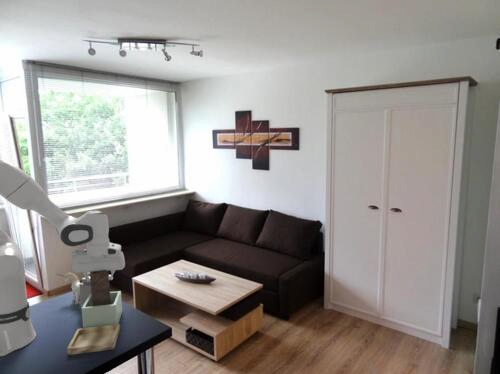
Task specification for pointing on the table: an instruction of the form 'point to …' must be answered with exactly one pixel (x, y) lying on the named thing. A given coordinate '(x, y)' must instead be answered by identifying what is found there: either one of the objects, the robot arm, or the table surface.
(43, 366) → the table surface
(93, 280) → the wooden log
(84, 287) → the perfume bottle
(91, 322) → the mint green open box
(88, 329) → the tray
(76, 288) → the unicorn figurine
